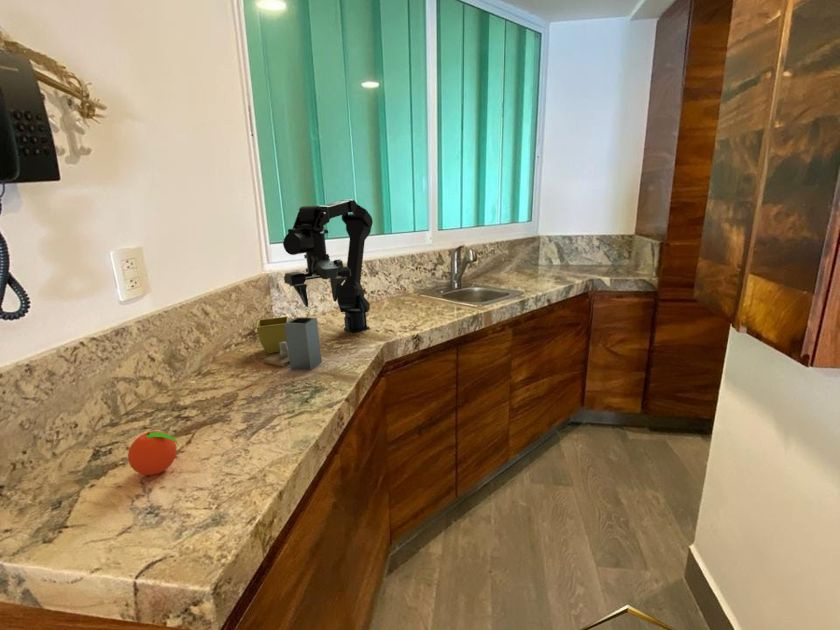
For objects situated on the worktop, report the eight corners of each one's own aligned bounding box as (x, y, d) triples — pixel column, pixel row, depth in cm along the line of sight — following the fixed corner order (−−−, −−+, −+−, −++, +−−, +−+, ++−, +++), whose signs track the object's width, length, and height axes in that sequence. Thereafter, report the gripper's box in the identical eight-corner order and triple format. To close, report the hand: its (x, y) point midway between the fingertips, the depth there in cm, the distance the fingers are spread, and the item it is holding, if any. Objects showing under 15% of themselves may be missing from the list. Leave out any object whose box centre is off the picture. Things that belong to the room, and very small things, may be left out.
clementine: (194, 457, 78) (186, 421, 76) (174, 482, 71) (165, 442, 69) (147, 460, 78) (139, 423, 76) (123, 485, 71) (113, 445, 69)
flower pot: (260, 356, 128) (255, 327, 126) (262, 347, 136) (258, 319, 134) (291, 352, 130) (288, 323, 128) (292, 344, 139) (288, 316, 136)
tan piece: (286, 353, 130) (284, 336, 129) (305, 357, 126) (303, 340, 125) (264, 362, 124) (261, 345, 122) (284, 366, 119) (281, 348, 118)
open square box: (302, 361, 123) (296, 317, 120) (321, 362, 121) (316, 317, 118) (290, 369, 117) (284, 323, 114) (310, 370, 116) (305, 324, 112)
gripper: (297, 255, 116) (303, 314, 120) (358, 249, 127) (362, 302, 131) (280, 253, 124) (286, 308, 128) (339, 247, 136) (343, 297, 140)
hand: (321, 304), depth 132 cm, fingers open, 9 cm apart
